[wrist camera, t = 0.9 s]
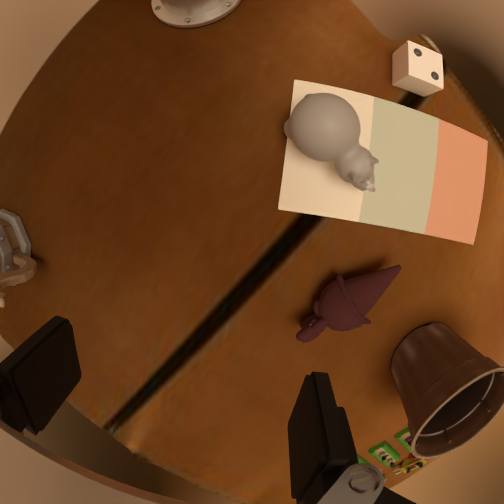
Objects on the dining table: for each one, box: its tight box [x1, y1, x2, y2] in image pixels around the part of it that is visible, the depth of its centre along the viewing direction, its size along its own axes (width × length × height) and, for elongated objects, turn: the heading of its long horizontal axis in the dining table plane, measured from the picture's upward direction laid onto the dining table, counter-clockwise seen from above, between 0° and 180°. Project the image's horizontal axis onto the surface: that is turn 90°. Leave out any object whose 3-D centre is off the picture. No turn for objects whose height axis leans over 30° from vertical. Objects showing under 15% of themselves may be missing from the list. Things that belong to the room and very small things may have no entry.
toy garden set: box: [357, 427, 427, 481], centre depth 46 cm, size 23×19×5 cm
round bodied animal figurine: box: [284, 93, 379, 192], centre depth 27 cm, size 7×12×8 cm, turn 39°
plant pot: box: [391, 323, 504, 459], centre depth 31 cm, size 16×16×16 cm
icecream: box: [296, 265, 401, 342], centre depth 33 cm, size 7×7×15 cm
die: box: [392, 41, 443, 97], centre depth 26 cm, size 5×5×5 cm
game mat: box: [278, 80, 488, 245], centre depth 31 cm, size 16×30×1 cm, turn 83°
